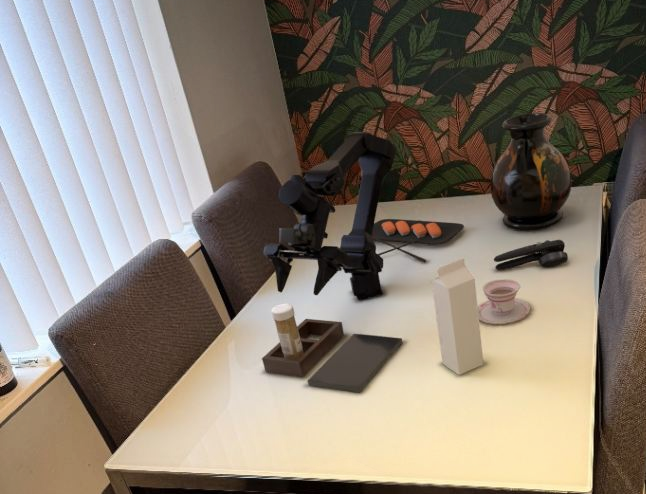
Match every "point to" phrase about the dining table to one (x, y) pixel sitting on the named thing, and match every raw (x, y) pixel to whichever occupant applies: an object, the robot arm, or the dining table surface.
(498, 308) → the teacup
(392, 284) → the dining table surface
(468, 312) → the milk
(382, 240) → the sushi plate
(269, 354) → the spice rack
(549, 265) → the can opener
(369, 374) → the slate board
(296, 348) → the sprinkles bottle
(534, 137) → the dark ceramic vase
